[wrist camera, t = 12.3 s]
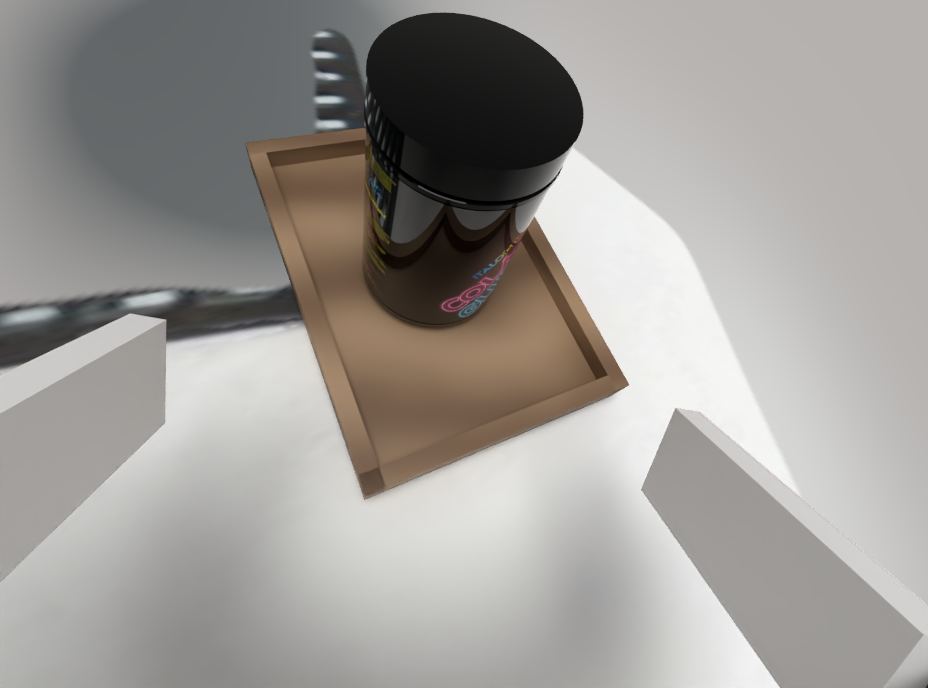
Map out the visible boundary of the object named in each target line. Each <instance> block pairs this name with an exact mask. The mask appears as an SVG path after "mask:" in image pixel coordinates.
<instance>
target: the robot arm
mask: <svg viewBox="0 0 928 688" xmlns="http://www.w3.org/2000/svg"><path fill="white" fill-rule="evenodd" d="M165 379H166V320H164V319H158V318H152V317H147V316H141V315H135V314H128V315H126V316H124V317H122V318H120V319H118V320H116V321H113V322H111V323H109V324H107V325H105V326H103V327H101V328H99V329H97V330H94V331H92V332H90V333H88V334H86V335H84V336H82V337H80V338H78V339H75V340H73V341H71V342H69V343H67V344H65V345H63V346H61V347H59V348H56V349H54V350H52V351H50V352H48V353H46V354H44V355H42V356H40V357H37V358H35V359H33V360H31V361H29V362H27V363H25V364H23V365H21V366H18V367H16V368H14V369H12V370H10V371H8V372H6V373H4V374H1V375H0V582H1V581H2V580H3V579H4V578H5V577H6V576H7V575H8V574H9V573H10V572H11V571H12V570H13V569H14V568H15V567H16V566H17V565H18V564H19V563H20V562H21V561H22V560H24V559H25V558H26V557H27V556H28V555H29V554H30V553H31V552H32V551H33V550H34V549H35V548H36V547H37V546H38V545H39V544H40V543H41V542H42V541H43V540H44V539H45V538H46V537H47V536H48V535H49V534H50V533H52V532H53V531H54V530H55V529H56V528H57V527H58V526H59V525H60V524H61V523H62V522H63V521H64V520H65V519H66V518H67V517H68V516H69V515H70V514H71V513H72V512H73V511H74V510H75V509H76V508H77V507H78V506H80V505H81V504H82V503H83V502H84V501H85V500H86V499H87V498H88V497H89V496H90V495H91V494H92V493H93V492H94V491H95V490H96V489H97V488H98V487H99V486H100V485H101V484H102V483H103V482H104V481H105V480H106V479H108V478H109V477H110V476H111V475H112V474H113V473H114V472H115V471H116V470H117V469H118V468H119V467H120V466H121V465H122V464H123V463H124V462H125V461H126V460H127V459H128V458H129V457H130V456H131V455H132V454H133V453H134V452H135V451H137V450H138V449H139V448H140V447H141V446H142V445H143V444H144V443H145V442H146V441H147V440H148V439H149V438H150V437H151V436H152V435H153V434H154V433H155V432H156V431H157V430H158V429H159V428H160V427H161V426H162V425H163V424H165ZM641 490H642V491H643V493H644V494H645V496H646V497H647V499H648V500H649V501H650V503H651V504H652V506H653V507H654V509H655V510H656V511H657V513H658V514H659V516H660V517H661V519H662V520H663V521H664V523H665V524H666V526H667V527H668V528H669V530H670V531H671V533H672V534H673V536H674V537H675V538H676V540H677V541H678V543H679V544H680V546H681V547H682V548H683V550H684V551H685V553H686V554H687V556H688V557H689V558H690V560H691V561H692V563H693V564H694V566H695V567H696V568H697V570H698V571H699V573H700V574H701V576H702V577H703V578H704V580H705V581H706V583H707V584H708V586H709V587H710V588H711V590H712V591H713V593H714V594H715V596H716V597H717V598H718V600H719V601H720V603H721V604H722V606H723V607H724V608H725V610H726V611H727V613H728V614H729V616H730V617H731V618H732V620H733V621H734V623H735V624H736V626H737V627H738V628H739V630H740V631H741V633H742V634H743V636H744V637H745V638H746V640H747V641H748V643H749V644H750V645H751V647H752V648H753V650H754V651H755V653H756V654H757V655H758V657H759V658H760V660H761V661H762V663H763V664H764V665H765V667H766V668H767V670H768V671H769V673H770V674H771V675H772V677H773V678H774V680H775V681H776V683H777V684H778V685H779V687H780V688H928V605H927V604H926V603H924V602H923V601H922V600H921V599H920V598H918V597H917V596H916V595H915V594H914V593H913V592H912V591H910V590H909V589H908V588H907V587H905V586H904V585H903V584H902V583H901V582H900V581H898V580H897V579H896V578H895V577H894V576H893V575H891V574H890V573H889V572H888V571H887V570H886V569H884V568H883V567H882V566H881V565H880V564H878V563H877V562H876V561H875V560H874V559H873V558H871V557H870V556H869V555H868V554H867V553H865V552H864V551H863V550H862V549H861V548H860V547H858V546H857V545H856V544H855V543H854V542H852V541H851V540H850V539H849V538H848V537H846V536H845V535H844V534H843V533H842V532H841V531H839V530H838V529H837V528H836V527H835V526H834V525H833V524H831V523H830V522H829V521H828V520H827V519H825V518H824V517H823V516H822V515H821V514H820V513H818V512H817V511H816V510H815V509H814V508H812V507H811V506H810V505H809V504H808V503H806V502H805V501H804V500H803V499H802V498H801V497H800V496H798V495H797V494H796V493H795V492H794V491H792V490H791V489H790V488H789V487H788V486H787V485H785V484H784V483H783V482H782V481H781V480H779V479H778V478H777V477H776V476H775V475H774V474H772V473H771V472H770V471H769V470H768V469H766V468H765V467H764V466H763V465H762V464H761V463H759V462H758V461H757V460H756V459H755V458H754V457H752V456H751V455H750V454H749V453H748V452H746V451H745V450H744V449H743V448H742V447H741V446H739V445H738V444H737V443H736V442H735V441H733V440H732V439H731V438H730V437H729V436H728V435H726V434H725V433H724V432H723V431H722V430H720V429H719V428H718V427H717V426H716V425H715V424H713V423H712V422H711V421H710V420H709V419H708V418H706V417H705V416H704V415H703V414H702V413H700V412H696V411H690V410H684V409H678V408H675V411H674V413H673V415H672V418H671V420H670V422H669V425H668V427H667V430H666V432H665V434H664V437H663V439H662V441H661V444H660V446H659V448H658V451H657V453H656V456H655V458H654V460H653V463H652V465H651V467H650V470H649V472H648V474H647V477H646V479H645V482H644V484H643V486H642V489H641Z"/></svg>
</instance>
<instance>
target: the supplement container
mask: <svg viewBox="0 0 928 688" xmlns="http://www.w3.org/2000/svg"><path fill="white" fill-rule="evenodd" d="M364 123H365V129H366V138H365V173H364V209H363V244H362V270H363V274H364V278H365V281H366V283H367V285H368V287H369V289H370V291H371V292H372V294H373V295H374V296H375V298H376V299H377V300H378V301H379V302H380V304H381V305H382V306H384V307H385V308H386V309H387V310H388V311H390V312H391V313H392V314H394V315H396V316H397V317H399V318H401V319H403V320H405V321H408V322H411V323H414V324H417V325H422V326H431V327H441V326H448V325H453V324H456V323H459V322H462V321H464V320H466V319H469V318H470V317H472V316H474V315H475V314H476V313H478V312H479V311H480V310H481V309H482V308H483V307H484V306H485V305H486V303H487V302H488V301H489V299H490V297H491V295H492V294H493V292H494V290H495V288H496V286H497V284H498V282H499V281H500V279H501V277H502V275H503V273H504V271H505V269H506V268H507V266H508V264H509V262H510V260H511V258H512V257H513V255H514V253H515V251H516V249H517V247H518V245H519V244H520V242H521V240H522V238H523V236H524V234H525V232H526V231H527V229H528V227H529V225H530V223H531V221H532V219H533V218H534V216H535V214H536V212H537V210H538V208H539V206H540V205H541V203H542V201H543V199H544V197H545V195H546V193H547V192H548V190H549V188H550V187H551V186H552V185H553V183H554V182H555V180H556V179H557V177H558V175H559V173H560V171H561V169H562V166H563V164H564V162H565V160H566V158H567V157H568V155H569V153H570V151H571V149H572V147H573V145H574V144H575V142H576V140H577V138H578V136H579V134H580V131H581V128H582V124H583V106H582V101H581V97H580V94H579V92H578V89H577V87H576V85H575V84H574V81H573V80H572V78H571V77H570V75H569V74H568V72H567V71H566V70H565V69H564V67H563V66H562V65H561V64H560V63H559V62H558V61H557V60H556V58H554V57H553V56H552V55H551V54H550V53H549V52H548V51H547V50H545V49H544V48H543V47H541V46H540V45H539V44H537V43H536V42H534V41H533V40H531V39H530V38H528V37H526V36H525V35H523V34H521V33H519V32H517V31H516V30H514V29H511V28H509V27H507V26H505V25H502V24H499V23H497V22H493V21H491V20H487V19H484V18H480V17H476V16H471V15H465V14H456V13H428V14H422V15H416V16H413V17H409V18H406V19H403V20H401V21H399V22H397V23H395V24H393V25H391V26H390V27H388V28H387V29H385V30H384V31H383V32H382V33H381V34H380V35H379V36H378V38H377V39H376V40H375V41H374V43H373V45H372V46H371V48H370V51H369V54H368V58H367V65H366V100H365V105H364Z"/></svg>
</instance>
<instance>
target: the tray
mask: <svg viewBox="0 0 928 688" xmlns="http://www.w3.org/2000/svg"><path fill="white" fill-rule="evenodd" d="M365 138H366V129H365V128H360V129H352V130H344V131H336V132H328V133H320V134H312V135H304V136H295V137H288V138H279V139H271V140H263V141H256V142H247V143H245V145H246V149H247V152H248V156H249V160H250V164H251V168H252V171H253V174H254V177H255V180H256V183H257V186H258V189H259V191H260V194H261V197H262V200H263V203H264V206H265V209H266V212H267V215H268V218H269V221H270V223H271V227H272V230H273V232H274V235H275V238H276V241H277V244H278V247H279V250H280V253H281V256H282V258H283V262H284V265H285V267H286V271H287V274H288V276H289V279H290V282H291V285H292V288H293V291H294V294H295V297H296V300H297V303H298V306H299V309H300V312H301V315H302V317H303V320H304V323H305V326H306V329H307V332H308V335H309V338H310V341H311V344H312V347H313V350H314V353H315V356H316V358H317V361H318V364H319V367H320V370H321V373H322V376H323V379H324V382H325V385H326V388H327V391H328V394H329V397H330V399H331V402H332V405H333V408H334V411H335V414H336V417H337V420H338V423H339V426H340V429H341V432H342V435H343V438H344V440H345V443H346V446H347V449H348V452H349V455H350V458H351V461H352V464H353V467H354V470H355V473H356V476H357V479H358V481H359V484H360V487H361V490H362V493H363V496H364V499H367V498H370V497H372V496H374V495H377V494H379V493H381V492H384V491H386V490H389V489H391V488H393V487H396V486H398V485H400V484H403V483H405V482H408V481H410V480H412V479H415V478H417V477H419V476H422V475H424V474H427V473H429V472H431V471H434V470H436V469H438V468H441V467H443V466H446V465H448V464H450V463H453V462H455V461H457V460H460V459H462V458H465V457H467V456H469V455H472V454H474V453H476V452H479V451H481V450H484V449H486V448H488V447H491V446H493V445H495V444H498V443H500V442H503V441H505V440H507V439H510V438H512V437H515V436H517V435H519V434H522V433H524V432H526V431H529V430H531V429H534V428H536V427H538V426H541V425H543V424H545V423H548V422H550V421H553V420H555V419H557V418H560V417H562V416H564V415H567V414H569V413H572V412H574V411H576V410H579V409H581V408H583V407H586V406H588V405H591V404H593V403H595V402H598V401H600V400H602V399H605V398H607V397H610V396H611V395H613V394H615V393H616V392H618V391H620V390H622V389H623V388H625V387H627V386H628V385H629V384H628V382H627V380H626V378H625V376H624V375H623V373H622V371H621V369H620V368H619V366H618V364H617V362H616V361H615V359H614V357H613V355H612V353H611V352H610V350H609V348H608V346H607V345H606V343H605V341H604V339H603V337H602V336H601V334H600V332H599V330H598V329H597V327H596V325H595V323H594V321H593V320H592V318H591V316H590V314H589V313H588V311H587V309H586V307H585V305H584V304H583V302H582V300H581V298H580V297H579V295H578V293H577V291H576V289H575V288H574V286H573V284H572V282H571V281H570V279H569V277H568V275H567V274H566V272H565V270H564V268H563V266H562V265H561V263H560V261H559V259H558V258H557V256H556V254H555V252H554V250H553V249H552V247H551V245H550V243H549V242H548V240H547V238H546V236H545V234H544V233H543V231H542V229H541V227H540V226H539V224H538V222H537V220H536V218H535V217H534V218H533V219H532V221H531V223H530V225H529V227H528V229H527V231H526V232H525V234H524V236H523V238H522V240H521V242H520V244H519V245H518V247H517V249H516V251H515V253H514V255H513V257H512V258H511V260H510V262H509V264H508V266H507V268H506V269H505V271H504V273H503V275H502V277H501V279H500V281H499V282H498V284H497V286H496V288H495V290H494V292H493V294H492V295H491V297H490V299H489V301H488V302H487V303H486V305H485V306H484V307H483V308H482V309H481V310H480V311H479V312H478V313H476V314H475V315H474V316H472V317H470V318H469V319H466V320H464V321H462V322H459V323H456V324H453V325H448V326H441V327H431V326H422V325H417V324H414V323H411V322H408V321H405V320H403V319H401V318H399V317H397V316H396V315H394V314H392V313H391V312H390V311H388V310H387V309H386V308H385V307H384V306H382V305H381V304H380V302H379V301H378V300H377V299H376V298H375V296H374V295H373V294H372V292H371V291H370V289H369V287H368V285H367V283H366V281H365V278H364V274H363V270H362V244H363V209H364V173H365Z"/></svg>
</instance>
